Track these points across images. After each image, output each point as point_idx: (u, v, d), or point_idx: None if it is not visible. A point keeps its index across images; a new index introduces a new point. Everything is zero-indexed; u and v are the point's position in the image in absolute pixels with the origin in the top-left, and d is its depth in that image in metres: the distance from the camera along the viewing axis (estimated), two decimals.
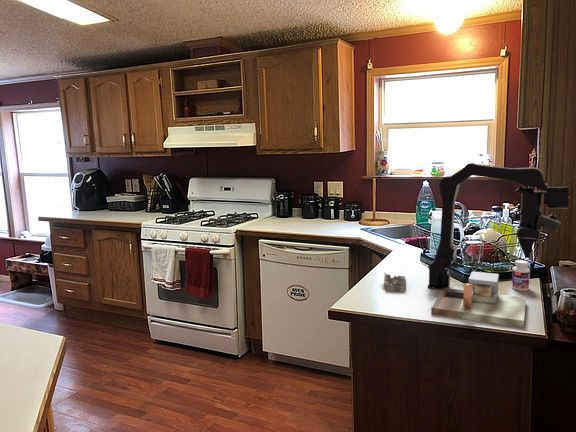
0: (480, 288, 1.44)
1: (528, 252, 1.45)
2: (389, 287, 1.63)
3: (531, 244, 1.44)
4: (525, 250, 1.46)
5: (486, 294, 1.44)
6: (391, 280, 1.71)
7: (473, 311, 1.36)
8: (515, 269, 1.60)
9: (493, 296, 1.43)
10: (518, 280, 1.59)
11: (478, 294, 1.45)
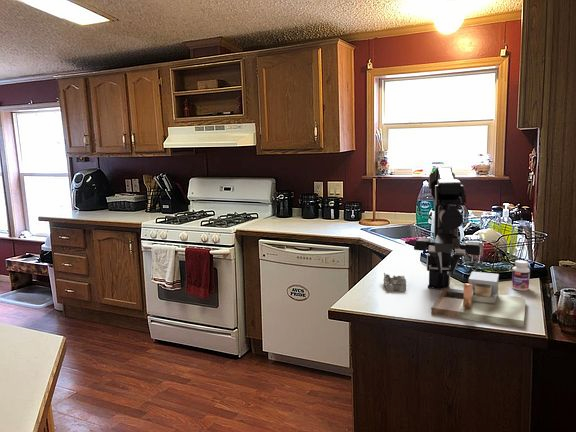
0: (480, 288, 1.44)
1: None
2: (389, 287, 1.63)
3: None
4: None
5: (486, 294, 1.44)
6: (390, 280, 1.71)
7: (473, 311, 1.36)
8: (515, 269, 1.60)
9: (493, 296, 1.43)
10: (518, 280, 1.59)
11: (478, 294, 1.45)
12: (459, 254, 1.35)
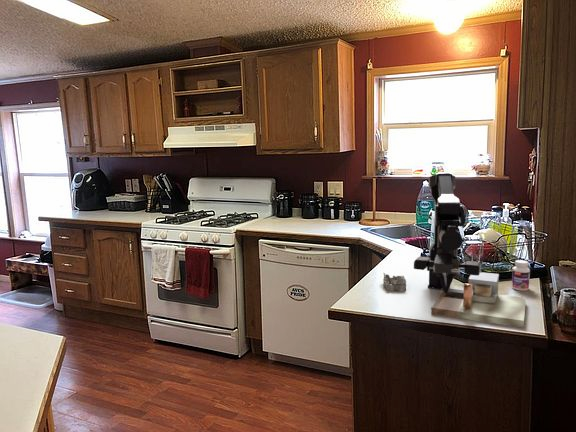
0: (480, 288, 1.44)
1: None
2: (389, 287, 1.63)
3: None
4: None
5: (486, 294, 1.44)
6: (390, 280, 1.71)
7: (473, 311, 1.36)
8: (515, 269, 1.60)
9: (493, 296, 1.43)
10: (518, 280, 1.59)
11: (478, 294, 1.45)
12: (453, 273, 1.37)
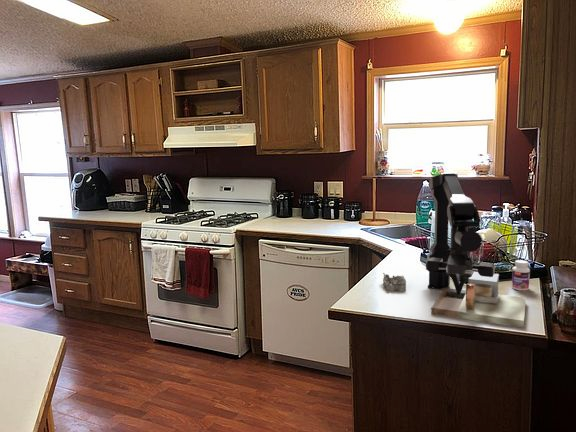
0: (481, 288, 1.44)
1: None
2: (389, 287, 1.63)
3: None
4: None
5: (487, 294, 1.44)
6: (390, 280, 1.71)
7: (473, 311, 1.36)
8: (515, 269, 1.60)
9: (495, 296, 1.42)
10: (518, 280, 1.59)
11: (479, 294, 1.45)
12: (466, 274, 1.35)
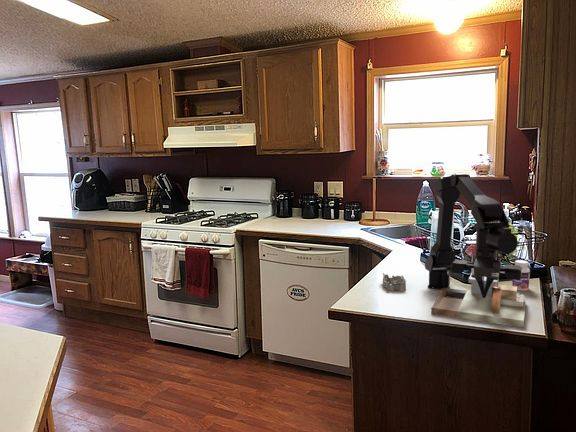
0: (506, 291, 1.41)
1: None
2: (389, 287, 1.63)
3: None
4: None
5: (512, 297, 1.40)
6: (389, 280, 1.72)
7: (473, 311, 1.36)
8: None
9: (521, 299, 1.39)
10: (518, 280, 1.59)
11: (503, 297, 1.41)
12: (492, 277, 1.32)
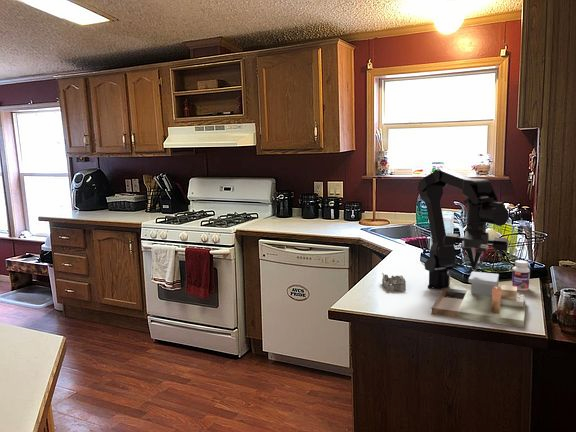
0: (506, 291, 1.41)
1: None
2: (389, 287, 1.63)
3: None
4: None
5: (512, 297, 1.40)
6: (389, 280, 1.72)
7: (473, 311, 1.36)
8: (515, 269, 1.60)
9: (521, 299, 1.39)
10: (518, 280, 1.59)
11: (503, 297, 1.41)
12: (482, 249, 1.43)
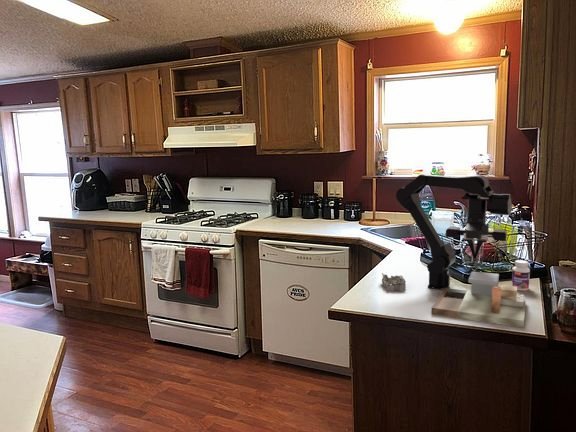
0: (506, 291, 1.41)
1: (472, 252, 1.57)
2: (389, 287, 1.63)
3: None
4: None
5: (512, 297, 1.40)
6: (388, 280, 1.72)
7: (473, 311, 1.36)
8: (515, 269, 1.60)
9: (521, 299, 1.39)
10: (518, 280, 1.59)
11: (503, 297, 1.41)
12: (482, 240, 1.53)
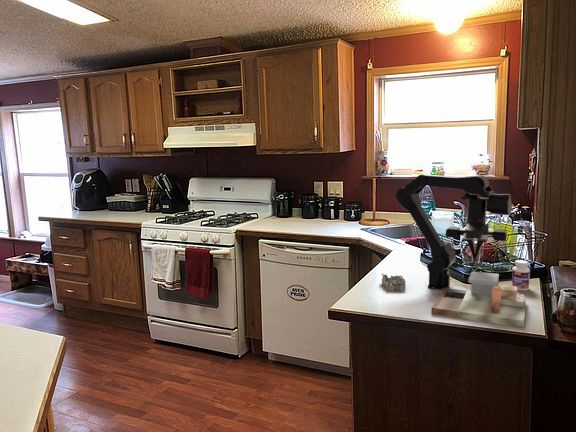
0: (506, 291, 1.41)
1: (472, 252, 1.57)
2: (389, 287, 1.63)
3: None
4: None
5: (512, 297, 1.40)
6: (388, 280, 1.72)
7: (473, 311, 1.36)
8: (515, 269, 1.60)
9: (521, 299, 1.39)
10: (518, 280, 1.59)
11: (503, 297, 1.41)
12: (482, 240, 1.53)
